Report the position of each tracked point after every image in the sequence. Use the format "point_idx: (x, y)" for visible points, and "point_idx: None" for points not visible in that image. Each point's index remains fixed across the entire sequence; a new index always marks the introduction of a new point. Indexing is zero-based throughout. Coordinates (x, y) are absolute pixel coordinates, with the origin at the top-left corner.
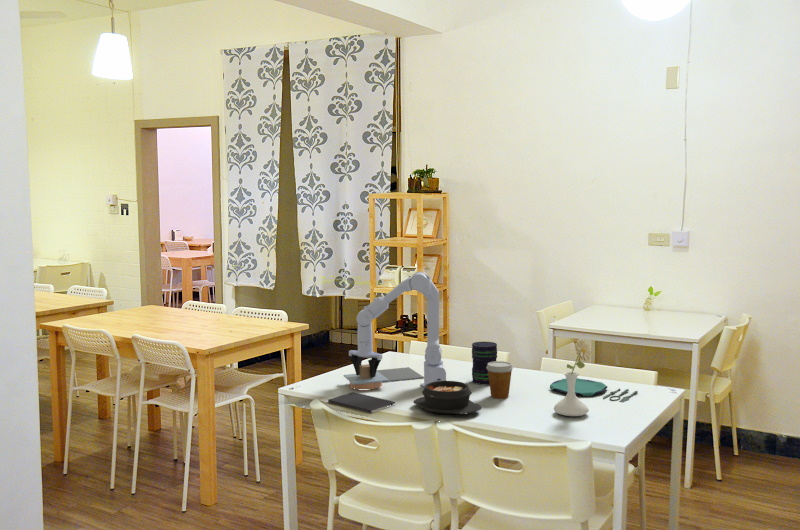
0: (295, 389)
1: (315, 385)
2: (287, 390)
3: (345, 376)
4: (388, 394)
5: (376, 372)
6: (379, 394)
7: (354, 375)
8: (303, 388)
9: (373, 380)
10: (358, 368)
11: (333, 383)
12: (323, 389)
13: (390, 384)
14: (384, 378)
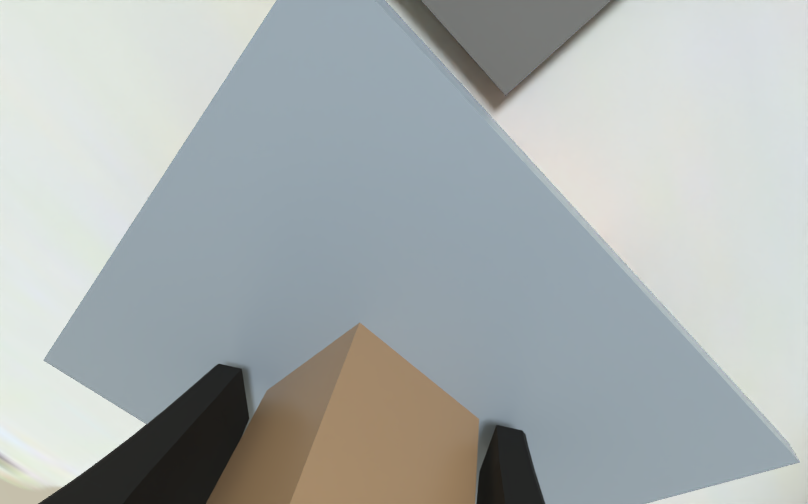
0: (24, 463)
1: (10, 378)
2: (16, 480)
3: (125, 410)
4: (761, 495)
5: (341, 52)
6: (659, 500)
7: (168, 356)
8: (33, 443)
9: (549, 499)
10: (183, 500)
11: (46, 301)
12: None
13: (714, 135)
14: (698, 415)
